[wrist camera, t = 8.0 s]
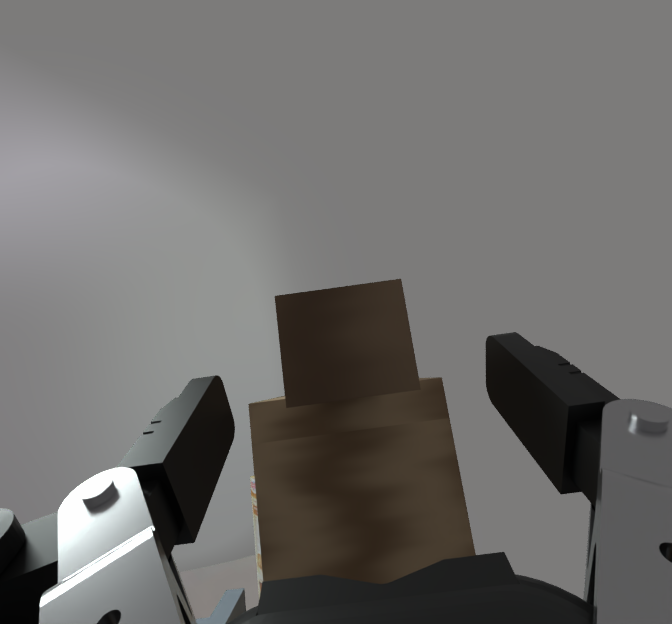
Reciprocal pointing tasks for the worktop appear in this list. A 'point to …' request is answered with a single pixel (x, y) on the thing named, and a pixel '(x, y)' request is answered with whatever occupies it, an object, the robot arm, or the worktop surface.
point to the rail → (345, 343)
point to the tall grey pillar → (227, 608)
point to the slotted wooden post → (358, 486)
